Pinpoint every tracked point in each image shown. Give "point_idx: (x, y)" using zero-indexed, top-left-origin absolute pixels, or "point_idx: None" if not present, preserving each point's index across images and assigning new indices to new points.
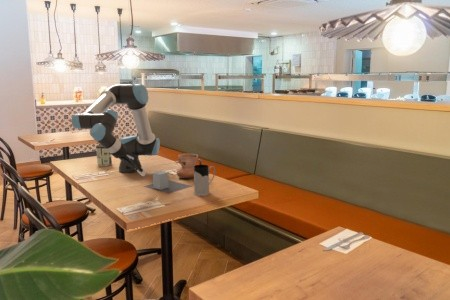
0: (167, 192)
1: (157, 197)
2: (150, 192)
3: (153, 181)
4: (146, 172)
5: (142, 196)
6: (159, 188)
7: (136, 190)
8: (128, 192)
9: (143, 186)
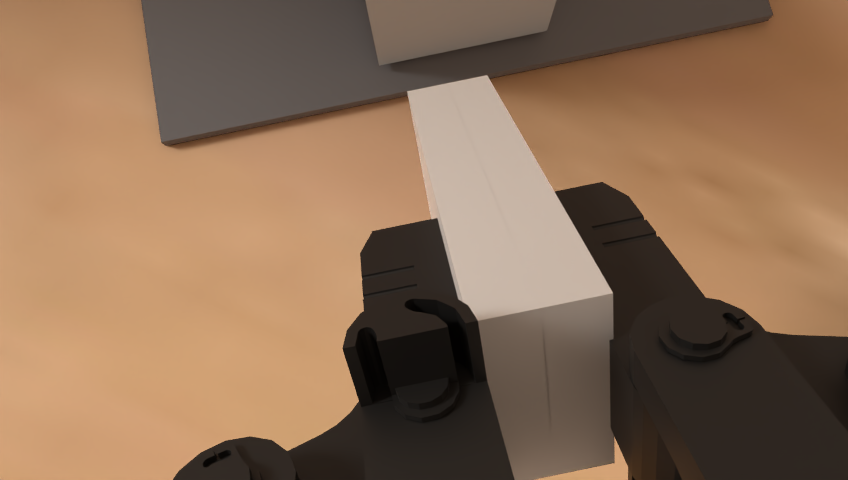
0: (715, 6)
1: (822, 220)
2: None
3: (376, 6)
4: (487, 80)
5: None
6: (528, 26)
7: (265, 312)
8: None
9: (169, 141)
